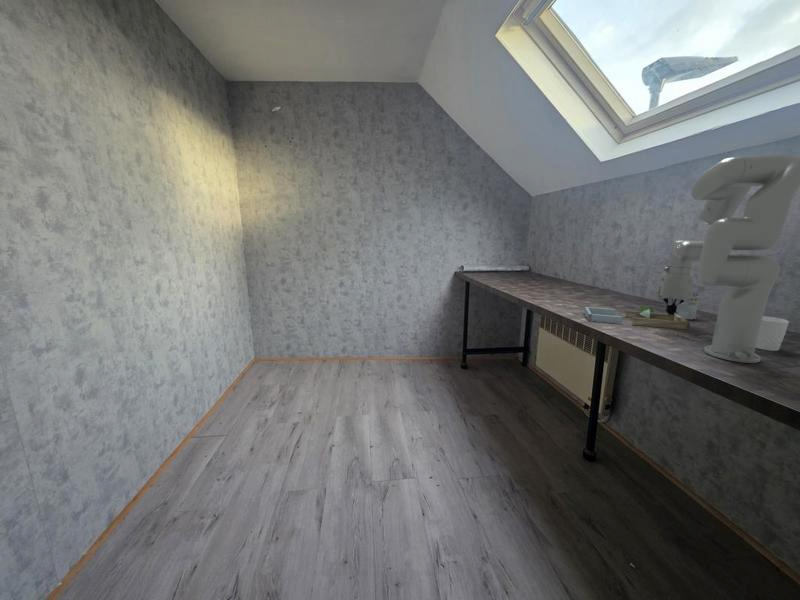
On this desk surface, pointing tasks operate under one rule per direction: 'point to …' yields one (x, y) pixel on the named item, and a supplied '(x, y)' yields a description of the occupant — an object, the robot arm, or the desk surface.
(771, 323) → the white cup
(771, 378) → the desk surface
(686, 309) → the ink cartridge box
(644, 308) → the geometric puzzle
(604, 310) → the bay
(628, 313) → the wooden tray
